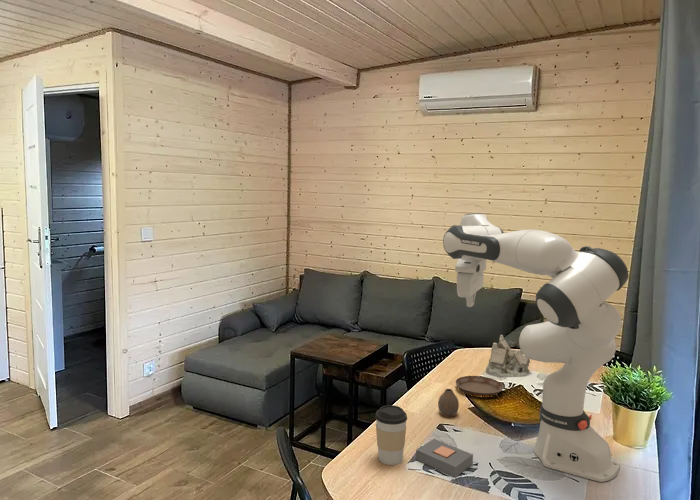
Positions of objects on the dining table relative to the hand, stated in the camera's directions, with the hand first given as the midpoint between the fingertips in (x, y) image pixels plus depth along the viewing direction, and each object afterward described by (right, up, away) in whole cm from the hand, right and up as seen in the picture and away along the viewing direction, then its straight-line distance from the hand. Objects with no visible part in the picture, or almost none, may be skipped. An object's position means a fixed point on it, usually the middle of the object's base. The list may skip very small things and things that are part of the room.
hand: (470, 306), depth 166 cm
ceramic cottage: (+27, -34, +50) cm, 66 cm away
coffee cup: (-27, -42, -19) cm, 53 cm away
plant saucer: (+10, -36, +30) cm, 48 cm away
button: (-12, -42, -21) cm, 48 cm away
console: (-12, -42, -21) cm, 48 cm away
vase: (-5, -38, +10) cm, 40 cm away
